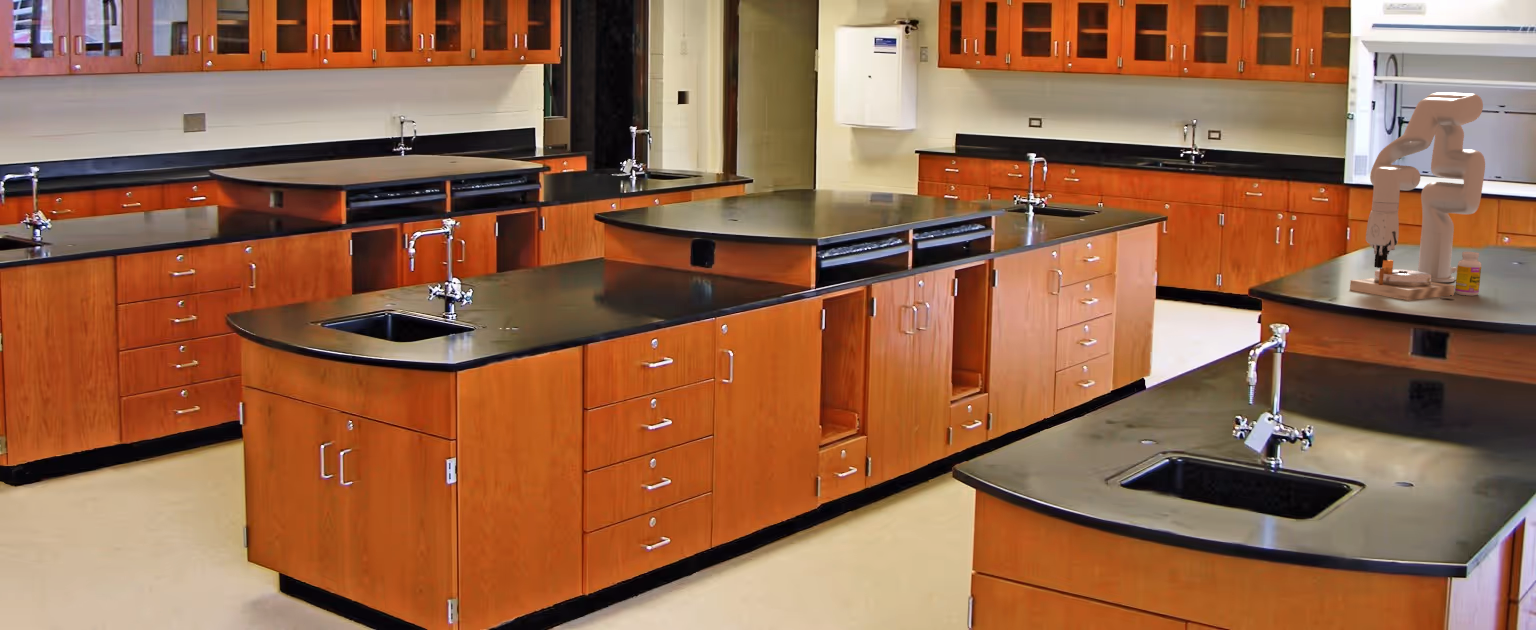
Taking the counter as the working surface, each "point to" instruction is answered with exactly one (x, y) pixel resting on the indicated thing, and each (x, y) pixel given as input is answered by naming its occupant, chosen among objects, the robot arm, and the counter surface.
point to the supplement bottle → (1468, 274)
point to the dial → (1402, 276)
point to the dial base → (1401, 289)
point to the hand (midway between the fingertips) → (1380, 267)
